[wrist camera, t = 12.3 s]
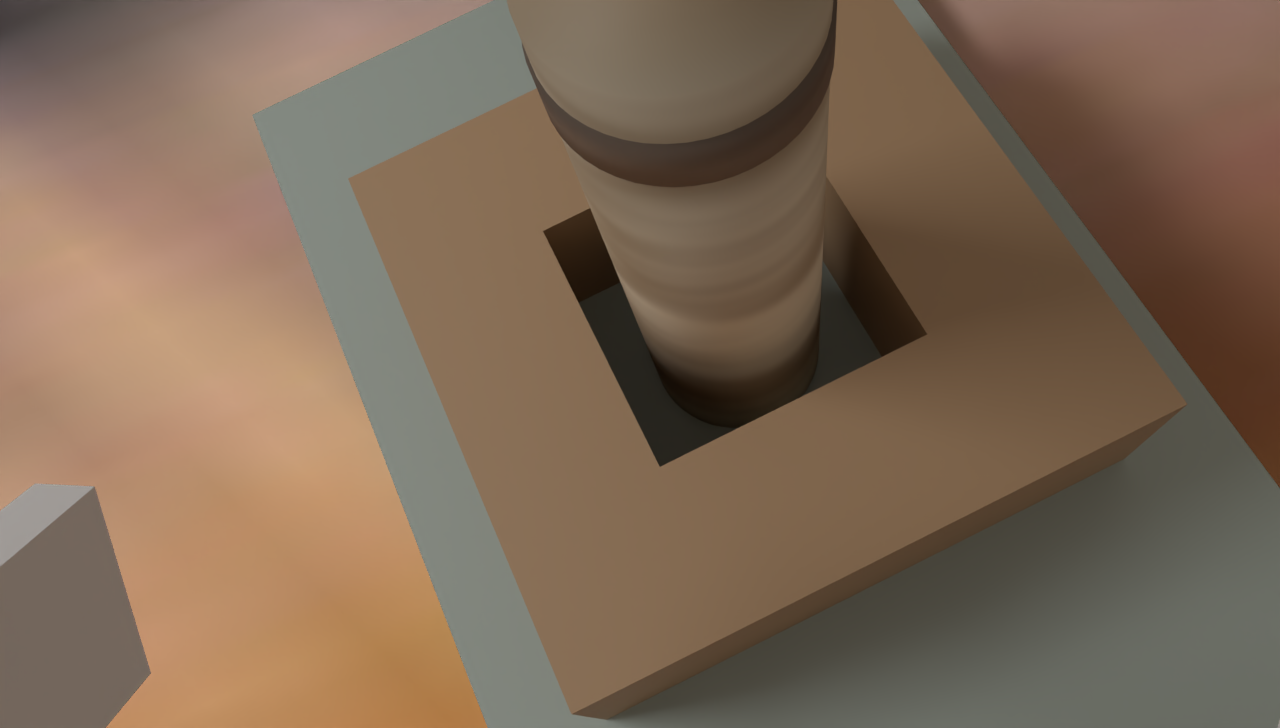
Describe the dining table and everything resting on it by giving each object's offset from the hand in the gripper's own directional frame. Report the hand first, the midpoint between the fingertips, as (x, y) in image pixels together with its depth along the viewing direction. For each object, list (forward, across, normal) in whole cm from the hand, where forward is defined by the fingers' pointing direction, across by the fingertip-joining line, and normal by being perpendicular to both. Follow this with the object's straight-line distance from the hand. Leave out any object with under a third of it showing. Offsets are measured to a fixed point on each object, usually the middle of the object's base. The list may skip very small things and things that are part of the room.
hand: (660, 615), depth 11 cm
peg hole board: (+15, 0, -4) cm, 15 cm away
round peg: (+14, 0, -3) cm, 15 cm away
